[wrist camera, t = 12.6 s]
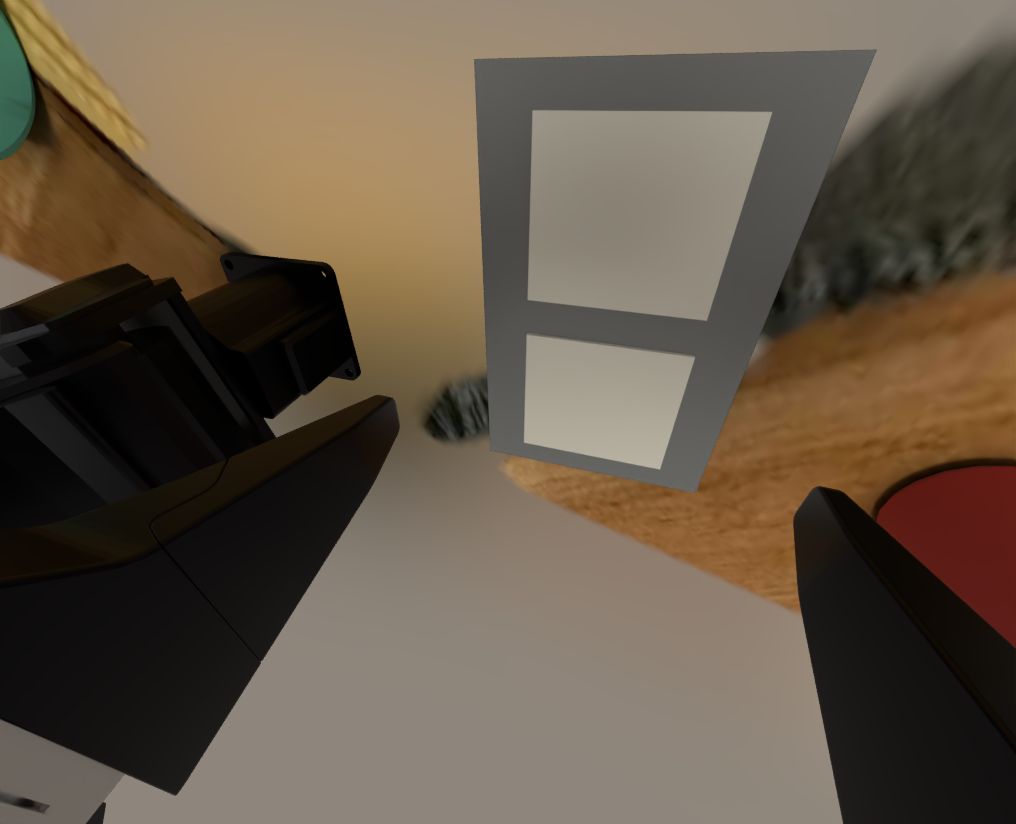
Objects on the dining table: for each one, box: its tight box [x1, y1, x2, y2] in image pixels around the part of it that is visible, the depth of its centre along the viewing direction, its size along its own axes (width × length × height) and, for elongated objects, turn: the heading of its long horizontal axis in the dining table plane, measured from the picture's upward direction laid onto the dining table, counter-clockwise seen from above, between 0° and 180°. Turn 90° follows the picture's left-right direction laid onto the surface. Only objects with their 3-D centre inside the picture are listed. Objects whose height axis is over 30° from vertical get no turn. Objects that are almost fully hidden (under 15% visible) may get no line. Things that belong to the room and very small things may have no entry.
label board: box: [474, 50, 876, 493], centre depth 17 cm, size 11×17×1 cm, turn 0°
